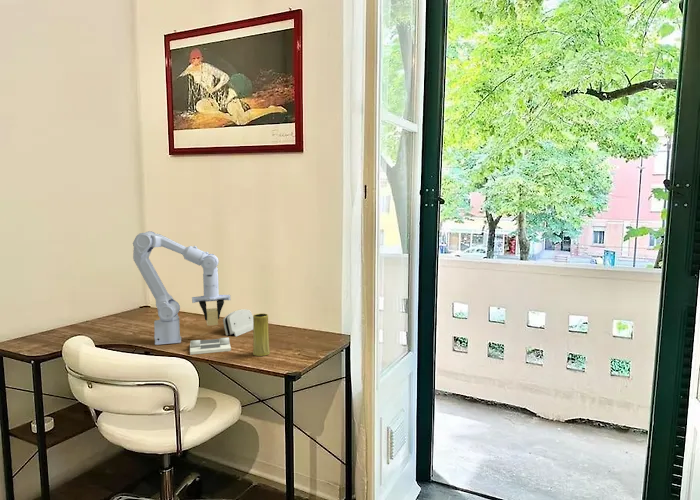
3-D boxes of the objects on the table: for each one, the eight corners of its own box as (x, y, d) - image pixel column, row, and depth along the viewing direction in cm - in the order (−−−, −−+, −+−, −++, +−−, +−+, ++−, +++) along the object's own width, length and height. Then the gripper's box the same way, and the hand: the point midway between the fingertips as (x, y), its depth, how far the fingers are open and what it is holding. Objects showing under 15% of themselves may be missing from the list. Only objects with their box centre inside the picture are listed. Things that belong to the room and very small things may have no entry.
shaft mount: (190, 354, 179) (189, 345, 179) (190, 345, 190) (189, 336, 190) (231, 350, 183) (230, 341, 183) (228, 341, 195) (228, 333, 194)
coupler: (218, 324, 195) (217, 311, 194) (207, 325, 193) (207, 311, 193) (216, 321, 200) (216, 308, 199) (206, 322, 199) (206, 308, 198)
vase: (270, 351, 183) (270, 313, 181) (268, 356, 177) (268, 317, 175) (254, 351, 183) (253, 313, 181) (251, 356, 177) (250, 317, 175)
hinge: (235, 336, 202) (228, 313, 202) (226, 339, 204) (219, 316, 204) (259, 327, 217) (252, 305, 217) (251, 329, 219) (244, 307, 219)
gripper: (192, 288, 189) (193, 323, 190) (230, 285, 194) (231, 319, 195) (191, 285, 196) (192, 318, 197) (229, 282, 200) (230, 315, 202)
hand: (212, 319), depth 197 cm, fingers closed on coupler, 4 cm apart
